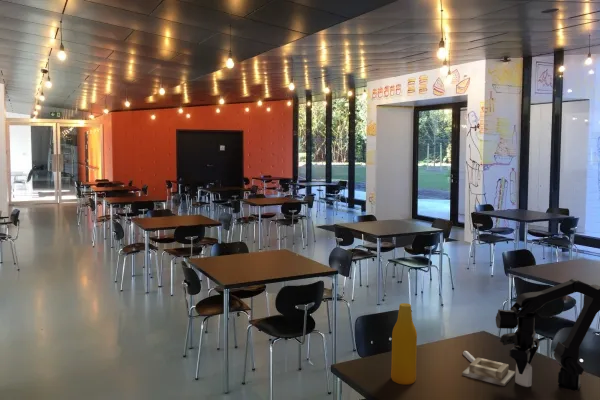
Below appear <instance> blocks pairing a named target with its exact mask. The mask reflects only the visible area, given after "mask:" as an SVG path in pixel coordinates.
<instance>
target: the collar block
mask: <svg viewBox="0 0 600 400" xmlns="http://www.w3.org/2000/svg"><path fill="white" fill-rule="evenodd" d="M509 366H510V365H509V364H508V363H503V362H498V361H495V360H490V359H486V358H481V357H476V358H475V360H474V361H473V362H472V363H471V362H470V363H469V366H467V368H466V369H464V370H463V371H462V372H461V375H462V376H463V377H464V376H465V377H468V378H471V379H476V380H477V381H478V380H479V381H483V382H486V383H491V384H494V385H498V386H502V387H505V386H506V385H507V384H508V383H509V382H510V381H511V380H512V379H513V377H514V376H515V374H516V370H510V369H509V368H510V367H509Z"/></svg>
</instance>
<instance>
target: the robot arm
mask: <svg viewBox="0 0 600 400" xmlns="http://www.w3.org/2000/svg"><path fill="white" fill-rule="evenodd" d="M574 293H581V294H583V295H584V296H583V307H582V309H581V310H580V313H579V314H578V316H577V318H576V320H575V322H574V324H573V326H572V328H571V330H570V332H569V334H568V336H567V338H566V339H565V341H563V342H560V341H557V343H556V347H555V348H554V349H553V352H554V353H553V357H554V359H555V361H556V362H557V363H558V365H559V366H560V369H559V371H558V373H557V376H558V377H557V383H558V387H559V388H562V389H563V388H564V389H568V390H571V391H576V392H578V391H579V390H580V387H581V385H582V384H581V375H583V372H584V371H585V370H584V369H585V368H583V367H582V365H580V364H579V363H578V361H579V358H580V347H581V345H582V343H583V341H584V339H585V337H586V336H587V333H588V331H589V329H590V328H591V325H592V323H593V322H594V319H595V317H596V315H597V314H598V313H599V312H600V285H598V284H589V283H585V282H583V281H581V280H580V279H577V278H571V279H569V280H568V281H564V282H562V283H559V284H556V285H554V286H551V287H548V288H546V289H545V288H544V289H543V290H540V291H532V292H531V291H529V292H524V293H520V294H519V295H518V296H517V299H516V301H515V303H514V304H513V305H512V306H511V307H510V308H509V310H508V309H501V308H500V309H498V310H497V313H496V316H495V325H496V328H497V329H504V330H505V329H506V330H507V329H509V330H510V329H513V330H514V329H515V328H517V330H516V331H515V332H508V333H504V334H502V335H501V336H500V340H499V341H500V343H502V345H503V346H506V345H512V344H513V345H514V346H513V347H512V348H511V349H510V350H509V357H511V358H512V359H513V360H515V362H516V363H517V367H518V371H519V374H523V372H524V370H525V367H526V365H527V363H529V364H530V365H531V363H532V362H533V359H534V357H535V356H536V353H537V351H538V350H539V347H540V343H541V340H539V339H538V338H537V337H535V335H536V331H535V322H536V321H535V320H536V319H541V318H542V316H541V315H540V314H538V312H537V311H538V310H540V309H541V308H542V307H543V306H545V305H546V304H547V303H551V302H553V301H555V300H556V301H557V300H558V299H561V298H563V297H566V296H569V295H573V294H574ZM516 363H515V364H516Z"/></svg>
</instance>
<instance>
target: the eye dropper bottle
mask: <svg viewBox="0 0 600 400" xmlns="http://www.w3.org/2000/svg"><path fill="white" fill-rule="evenodd" d="M514 376H515V379H514V381H515V383H516V384H517V385H519V386H521V387H525V388H530V387H532V381H533V379H532V378H533V366H532V365H531V363H530V364H529V363H527V365H526V367H525V370H524V372H523V374H519V371H518V367H517V363H515V375H514Z"/></svg>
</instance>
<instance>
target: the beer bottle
mask: <svg viewBox="0 0 600 400" xmlns="http://www.w3.org/2000/svg"><path fill="white" fill-rule="evenodd" d="M417 341H418V333H417V329H416V325H415V324H414V321H413V313H412V304H410V303H405V302H404V303H399V305H398V314H397V320H396V322H395V324H394V326H393V328H392V332H391V368H390V369H391V370H390V377H391V380H392V382H394V383H396V384H399V385H404V386H405V385H412V384H414V383H415V382H416V379H417V346H418V344H417V343H418V342H417Z"/></svg>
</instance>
